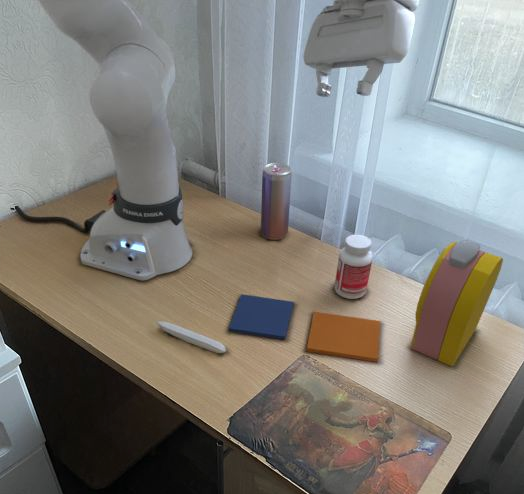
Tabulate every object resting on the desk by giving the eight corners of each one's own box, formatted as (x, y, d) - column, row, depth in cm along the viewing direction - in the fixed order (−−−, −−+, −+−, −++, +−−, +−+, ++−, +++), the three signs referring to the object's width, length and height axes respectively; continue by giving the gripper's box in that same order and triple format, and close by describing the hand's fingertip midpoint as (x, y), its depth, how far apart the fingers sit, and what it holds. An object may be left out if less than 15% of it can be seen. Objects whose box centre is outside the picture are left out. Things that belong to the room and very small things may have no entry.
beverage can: (256, 237, 117) (258, 171, 106) (266, 224, 121) (269, 160, 111) (281, 243, 115) (286, 177, 105) (291, 230, 119) (296, 165, 109)
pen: (159, 324, 95) (158, 317, 93) (228, 351, 90) (227, 343, 89) (154, 330, 94) (153, 322, 92) (223, 356, 89) (223, 349, 88)
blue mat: (228, 331, 94) (228, 328, 93) (241, 297, 101) (241, 294, 100) (284, 340, 93) (285, 336, 92) (293, 305, 100) (293, 301, 99)
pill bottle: (372, 293, 103) (383, 244, 96) (348, 304, 101) (356, 254, 93) (351, 277, 107) (360, 228, 99) (327, 287, 104) (334, 237, 97)
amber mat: (306, 351, 91) (306, 347, 90) (313, 314, 98) (313, 311, 97) (377, 362, 89) (378, 358, 89) (379, 324, 96) (380, 321, 96)
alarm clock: (435, 308, 100) (463, 221, 88) (478, 325, 97) (513, 237, 84) (402, 352, 91) (428, 261, 79) (448, 372, 88) (483, 281, 75)
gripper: (305, 0, 87) (287, 91, 91) (401, -23, 72) (374, 87, 76) (333, 15, 91) (314, 101, 95) (429, -4, 76) (402, 100, 80)
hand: (341, 95), depth 85 cm, fingers open, 8 cm apart
